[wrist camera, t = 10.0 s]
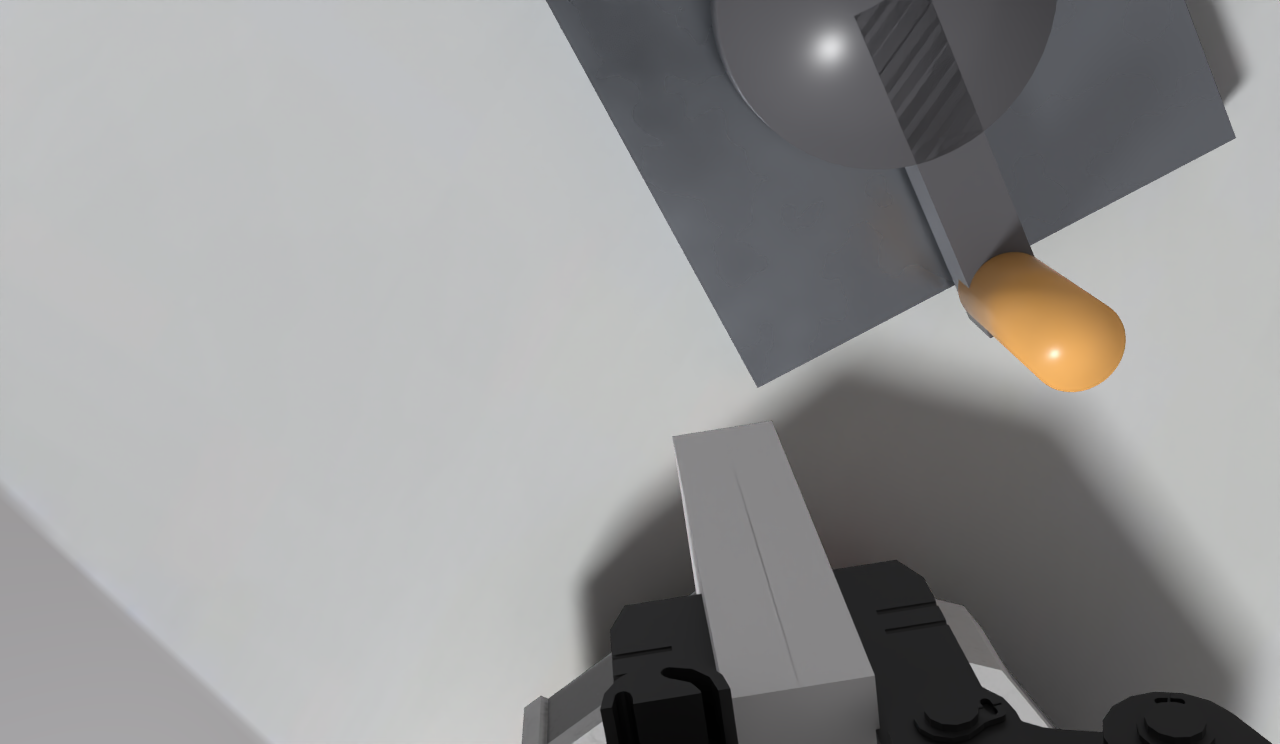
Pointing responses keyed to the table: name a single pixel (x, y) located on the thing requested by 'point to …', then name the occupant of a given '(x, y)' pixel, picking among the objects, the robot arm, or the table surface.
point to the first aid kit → (571, 719)
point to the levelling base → (878, 198)
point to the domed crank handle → (927, 143)
